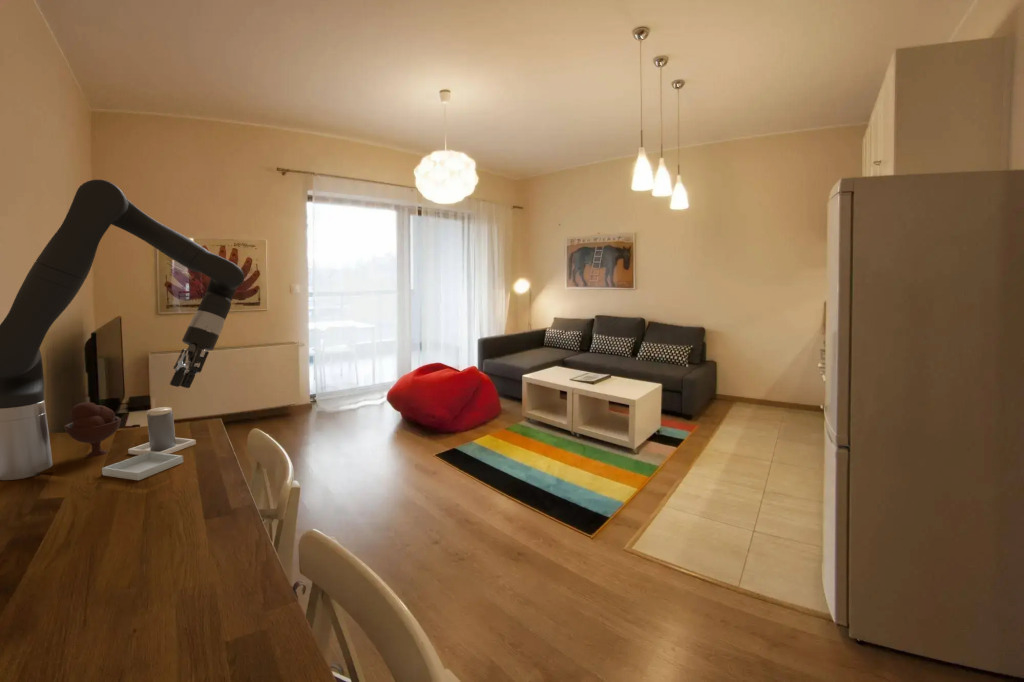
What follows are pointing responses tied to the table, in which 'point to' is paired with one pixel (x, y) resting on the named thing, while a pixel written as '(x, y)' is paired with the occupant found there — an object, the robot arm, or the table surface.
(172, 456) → the glazed dish
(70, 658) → the table surface
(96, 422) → the ice cream bowl
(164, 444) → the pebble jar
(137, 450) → the tray
